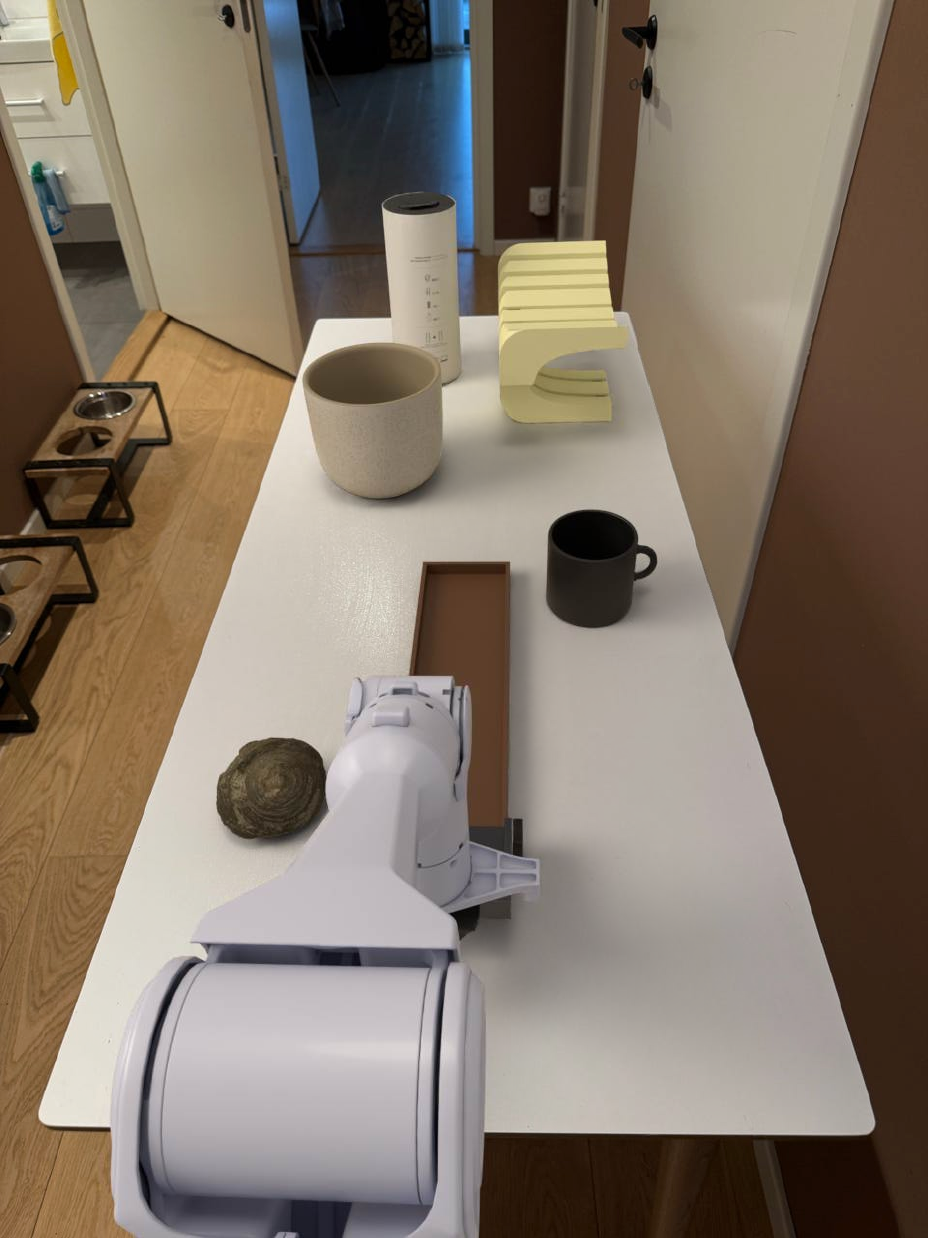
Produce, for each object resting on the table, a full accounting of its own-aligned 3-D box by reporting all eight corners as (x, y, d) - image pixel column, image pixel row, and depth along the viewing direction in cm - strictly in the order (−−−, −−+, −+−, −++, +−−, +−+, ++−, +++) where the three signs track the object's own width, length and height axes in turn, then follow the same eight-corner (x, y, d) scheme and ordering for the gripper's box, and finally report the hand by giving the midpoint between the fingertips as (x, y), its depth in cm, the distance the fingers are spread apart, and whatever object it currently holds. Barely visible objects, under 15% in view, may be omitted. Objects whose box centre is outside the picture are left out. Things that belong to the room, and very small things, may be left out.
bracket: (522, 872, 77) (522, 842, 74) (372, 869, 78) (367, 840, 75) (522, 848, 79) (522, 818, 76) (375, 845, 79) (370, 816, 77)
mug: (663, 622, 99) (673, 556, 93) (553, 632, 99) (555, 565, 93) (643, 568, 107) (651, 503, 101) (540, 577, 106) (541, 512, 100)
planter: (407, 527, 114) (396, 417, 104) (294, 496, 121) (274, 389, 110) (469, 460, 125) (465, 355, 115) (363, 434, 132) (350, 333, 122)
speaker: (460, 356, 149) (453, 185, 132) (465, 386, 141) (458, 208, 124) (395, 360, 149) (379, 189, 132) (396, 391, 141) (379, 213, 124)
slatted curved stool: (499, 356, 149) (497, 243, 137) (598, 353, 148) (605, 240, 136) (500, 454, 126) (499, 329, 115) (617, 452, 126) (628, 326, 114)
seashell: (186, 839, 73) (311, 831, 73) (189, 693, 77) (309, 686, 76) (226, 844, 84) (335, 837, 84) (228, 716, 87) (333, 710, 87)
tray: (507, 865, 78) (507, 851, 76) (388, 862, 78) (386, 849, 77) (510, 574, 107) (510, 561, 105) (424, 574, 107) (422, 561, 106)
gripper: (539, 778, 59) (536, 896, 68) (315, 775, 60) (341, 892, 69) (541, 873, 54) (538, 987, 63) (296, 869, 55) (327, 982, 64)
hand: (434, 944), depth 65 cm, fingers closed
